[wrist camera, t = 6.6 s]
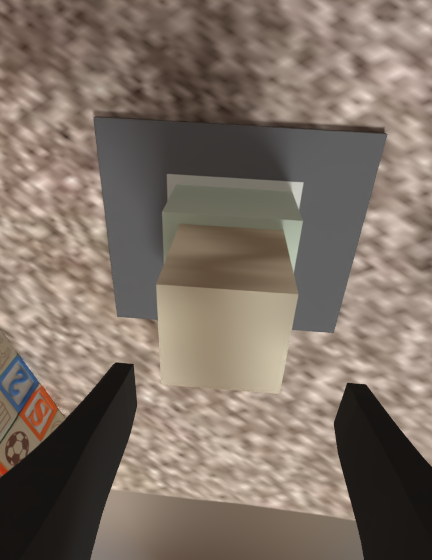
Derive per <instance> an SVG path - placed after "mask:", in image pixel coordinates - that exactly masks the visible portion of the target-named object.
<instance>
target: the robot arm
mask: <svg viewBox="0 0 432 560" xmlns="http://www.w3.org/2000/svg"><path fill="white" fill-rule="evenodd" d="M136 408H137V398H136V386H135V375H134V364H127V363H115V364H113V365H112V367H111V368H110V369H109V370H108V372H107V373H106V374H105V375H104V376H103V378H102V379H101V380H100V381H99V383H98V384H97V385H96V386H95V387H94V388H93V390H92V391H91V392H90V393H89V394H88V395H87V396H86V397H85V399H84V400H83V401H82V402H81V403H80V404H79V405H78V406H77V407H76V408H75V410H74V411H73V412H72V413H71V414H70V415H69V416H68V417H67V418H66V419H65V420H64V421H63V422H62V423H61V424H60V425H59V426H58V427H57V428H56V429H55V430H54V431H53V432H52V433H51V434H50V435H49V436H48V437H47V438H46V439H45V440H44V441H42V442H41V443H40V444H39V445H38V446H37V447H36V448H35V449H34V450H33V451H31V452H30V453H29V454H28V455H27V456H26V457H25V458H23V459H22V460H21V461H20V462H19V463H17V464H16V465H15V466H14V467H12V468H11V469H10V470H9V471H7V472H6V473H5V474H4V475H3V476H1V477H0V560H90V558H91V554H92V550H93V547H94V543H95V539H96V535H97V531H98V528H99V524H100V520H101V516H102V513H103V510H104V507H105V504H106V501H107V497H108V494H109V492H110V489H111V487H112V484H113V481H114V478H115V476H116V473H117V470H118V467H119V465H120V462H121V459H122V456H123V453H124V451H125V448H126V445H127V442H128V439H129V436H130V433H131V429H132V425H133V421H134V417H135V412H136ZM334 428H335V436H336V443H337V449H338V455H339V459H340V463H341V467H342V471H343V474H344V478H345V482H346V486H347V489H348V493H349V497H350V500H351V504H352V508H353V512H354V515H355V519H356V522H357V527H358V531H359V535H360V539H361V545H362V550H363V556H364V560H432V467H431V466H430V465H429V463H428V462H427V461H426V460H425V459H424V458H423V457H422V455H421V454H420V453H419V452H418V451H417V449H416V448H415V447H414V446H413V445H412V443H411V442H410V441H409V440H408V438H407V437H406V436H405V435H404V433H403V432H402V431H401V430H400V429H399V427H398V426H397V425H396V423H395V422H394V421H393V420H392V418H391V417H390V416H389V414H388V413H387V412H386V410H385V409H384V408H383V406H382V405H381V404H380V402H379V401H378V400H377V398H376V397H375V396H374V394H373V393H372V392H371V390H370V389H369V388H368V387H367V385H366V384H354V383H347V385H346V388H345V391H344V394H343V397H342V400H341V403H340V406H339V409H338V412H337V415H336V418H335V421H334Z"/></svg>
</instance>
